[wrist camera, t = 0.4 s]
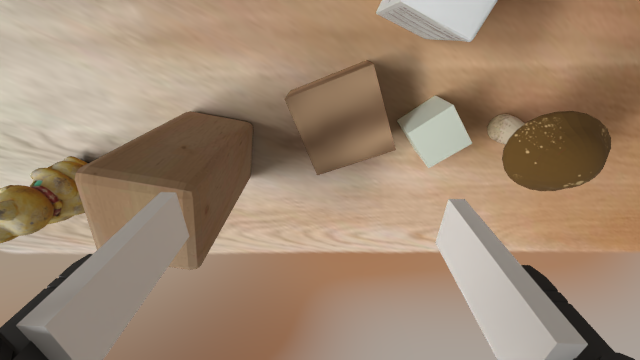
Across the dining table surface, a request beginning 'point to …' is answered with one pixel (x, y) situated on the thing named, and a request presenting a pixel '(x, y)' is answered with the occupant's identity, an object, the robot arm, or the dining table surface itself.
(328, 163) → the base block
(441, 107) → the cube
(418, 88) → the dining table surface
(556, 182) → the mushroom
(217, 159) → the wooden block
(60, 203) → the decorative figurine
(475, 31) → the supplement box
